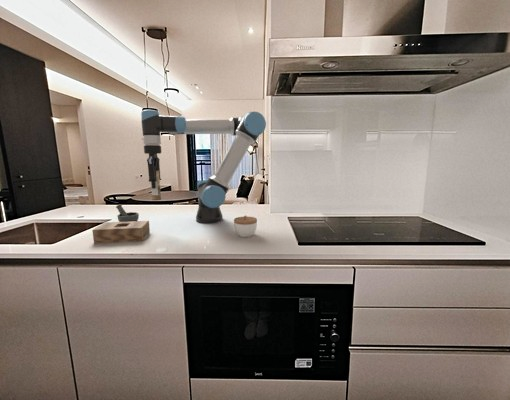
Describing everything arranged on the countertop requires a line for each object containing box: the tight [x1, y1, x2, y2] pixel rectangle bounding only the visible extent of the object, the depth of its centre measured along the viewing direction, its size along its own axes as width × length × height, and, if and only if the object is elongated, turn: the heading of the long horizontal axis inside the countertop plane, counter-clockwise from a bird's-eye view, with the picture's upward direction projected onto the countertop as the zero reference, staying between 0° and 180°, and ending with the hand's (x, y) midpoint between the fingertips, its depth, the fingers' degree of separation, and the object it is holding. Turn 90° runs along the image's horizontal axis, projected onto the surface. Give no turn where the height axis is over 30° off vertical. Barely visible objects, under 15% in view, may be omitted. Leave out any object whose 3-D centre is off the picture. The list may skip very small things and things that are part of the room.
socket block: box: [91, 220, 151, 244], centre depth 116 cm, size 20×12×6 cm, turn 98°
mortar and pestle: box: [115, 203, 140, 222], centre depth 133 cm, size 11×9×12 cm
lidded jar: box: [233, 215, 258, 238], centre depth 118 cm, size 11×11×9 cm
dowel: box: [151, 171, 162, 201], centre depth 122 cm, size 4×4×14 cm
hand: (156, 194), depth 123 cm, fingers closed on dowel, 4 cm apart
